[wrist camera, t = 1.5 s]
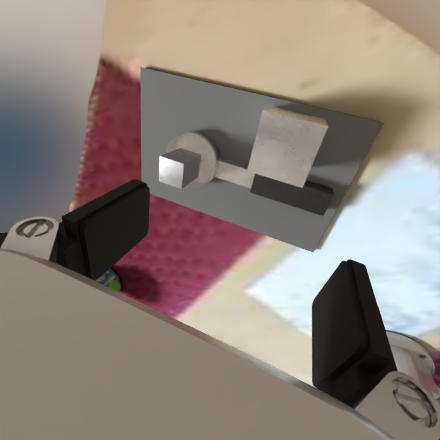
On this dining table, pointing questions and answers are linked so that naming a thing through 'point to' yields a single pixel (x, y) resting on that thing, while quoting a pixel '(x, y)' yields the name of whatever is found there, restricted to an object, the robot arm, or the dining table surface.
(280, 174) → the light grey block
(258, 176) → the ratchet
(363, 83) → the dining table surface
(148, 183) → the tool mat
